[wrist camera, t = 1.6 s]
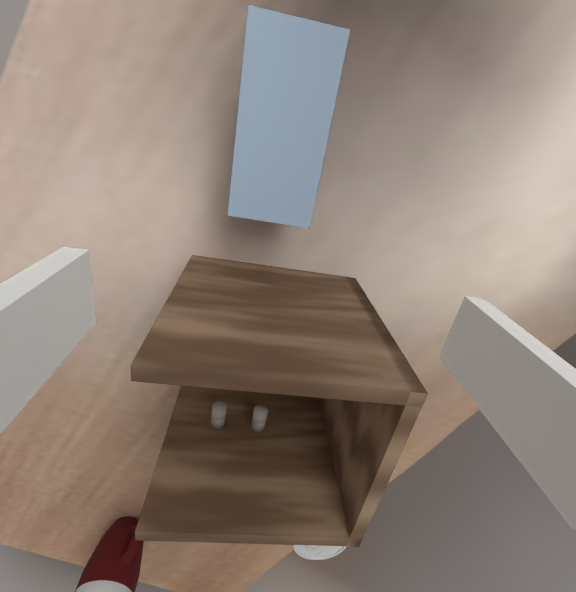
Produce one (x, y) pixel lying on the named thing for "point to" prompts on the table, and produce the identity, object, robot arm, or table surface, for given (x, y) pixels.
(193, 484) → the bookcase frame
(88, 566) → the mug
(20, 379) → the robot arm
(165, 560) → the table surface
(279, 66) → the shelf board
